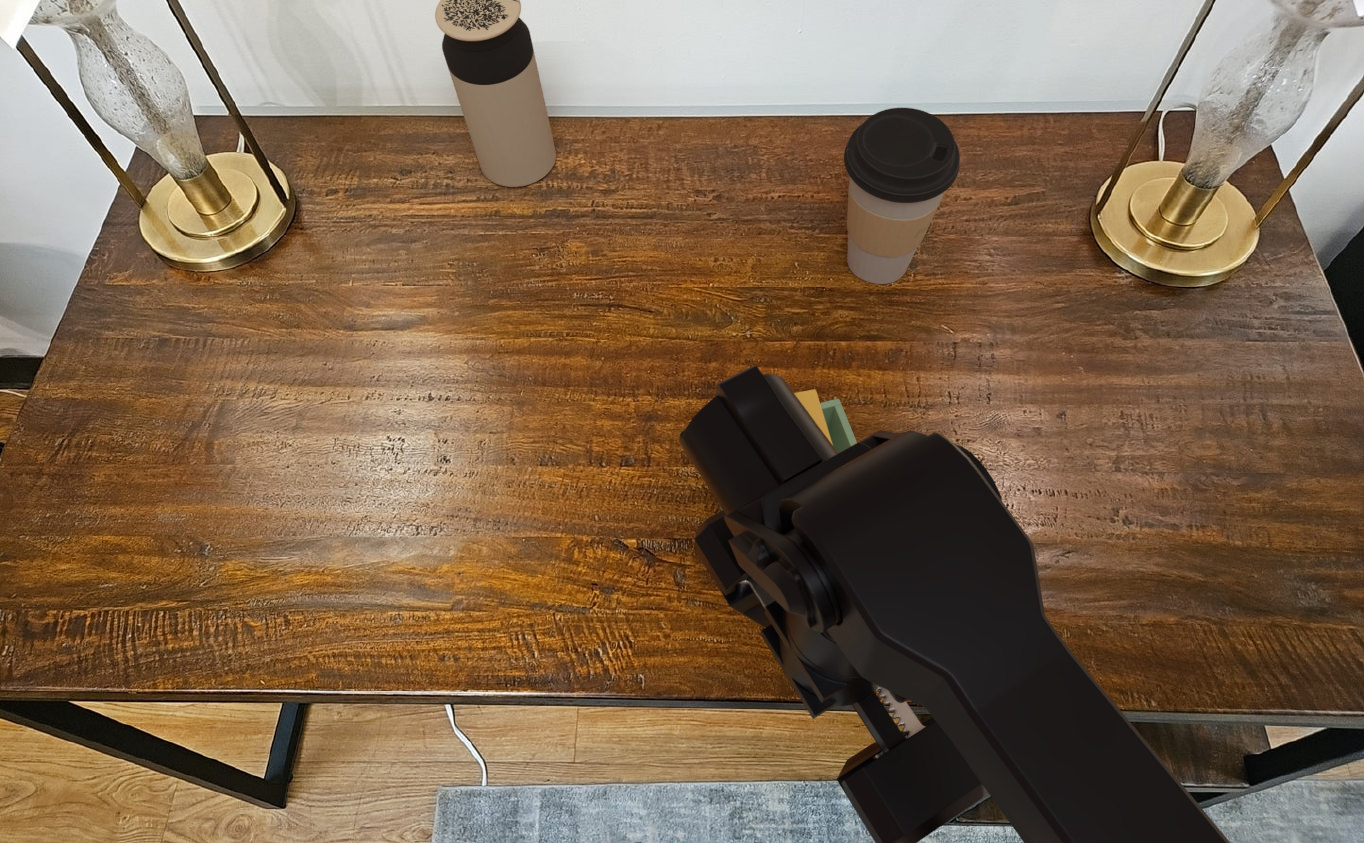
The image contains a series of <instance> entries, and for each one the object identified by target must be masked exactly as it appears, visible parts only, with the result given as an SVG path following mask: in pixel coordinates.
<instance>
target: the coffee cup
mask: <svg viewBox="0 0 1364 843" xmlns="http://www.w3.org/2000/svg"><path fill="white" fill-rule="evenodd" d="M960 161H961V153H960V148H959V146H958V144H957V142H956V140H955V138H954V134H953V133H952V131H951V130H950V128H949V127H948V125H947V124H946V123H945V122H944V121H942V120H941V119H940V118H939V117H937V116H935V115H934V114H931V113H930V112H927V111H924V110H922V109H917V108H914V107H913V108H912V107H891V108H886V109H884V110H881V111H880V110H879V111H878V112H875V113H873V114H872V115H871V116H869V117H868V118H867V119H865V121H864V122H863V123H861V124H860V125H858V127H857V128H855V129H854V131H853V132H852V133H851V135H850V137H849V138H848V141H847V143H846V146H845V148H844V152H843V163H844V167H845V170H846V172H847V175H848V176H849V178H848V195H847V217H846V229H847V230H846V231H847V254H846V256H847V257H846V261H847V266H848V268H849V270H850V272H851V273H852V274H853V275H854V276H856V277H857V278H858V279H861V280H862V281H865V282H867V283H871V284H876V285H889V284H892V283H895V282H897V281H899V280H900V279H901V278H902V277H903V276H904V275H905V274H906V272H907V270H908V268H909V266H910V264H911V262H912V260H913V257H914V255H915V254H916V251H917V249H918V247H919V246H920V245H921V244H922V242H923V240H924V238H925V236H926V233H927V231H928V230H929V227H930V225H931V223H932V221H933V219H934V217H935V214H936V213H937V210H938V208H939V206H940V204H941V202H942V200H943V197H944V193H945V192H946V191H947V190H948V189H950V188H951V187H952V185H953V184H954V182H955V181H956V179H957V177H958V175H959V172H960V164H961V162H960Z"/></svg>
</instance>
